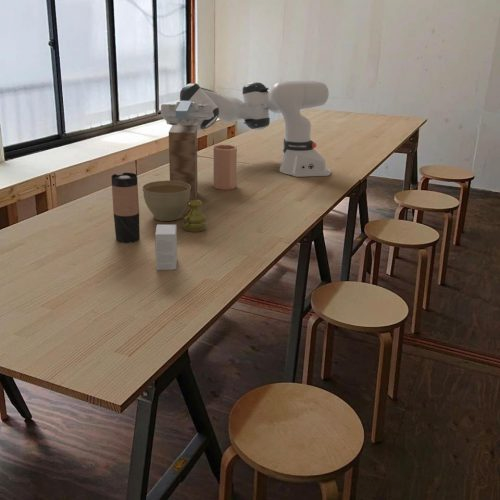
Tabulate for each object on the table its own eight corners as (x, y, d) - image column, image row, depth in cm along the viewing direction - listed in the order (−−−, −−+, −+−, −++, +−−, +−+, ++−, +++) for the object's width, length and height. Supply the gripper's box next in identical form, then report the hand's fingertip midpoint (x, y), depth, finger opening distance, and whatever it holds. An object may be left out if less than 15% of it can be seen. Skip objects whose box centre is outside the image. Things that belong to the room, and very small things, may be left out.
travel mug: (134, 244, 177) (131, 180, 170) (111, 242, 179) (106, 178, 171) (144, 235, 184) (141, 173, 177) (121, 233, 186) (117, 171, 178)
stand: (197, 192, 228) (196, 125, 219) (195, 203, 215) (194, 132, 206) (174, 192, 228) (172, 124, 218) (170, 203, 215) (168, 132, 205)
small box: (157, 258, 168) (156, 224, 164) (177, 258, 168) (176, 223, 164) (155, 270, 161) (154, 234, 157) (176, 270, 161) (175, 234, 157)
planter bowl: (198, 213, 206) (198, 183, 202) (178, 227, 192) (178, 195, 188) (157, 207, 211) (156, 177, 207) (134, 221, 197) (133, 189, 193)
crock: (236, 183, 241) (236, 145, 235) (236, 190, 233) (236, 150, 227) (214, 183, 241) (214, 144, 235) (213, 189, 233) (213, 149, 227)
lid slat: (181, 107, 225) (181, 100, 224) (191, 107, 226) (191, 100, 225) (175, 118, 203) (175, 110, 202) (187, 118, 203) (187, 111, 202)
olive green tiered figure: (197, 234, 187) (197, 204, 183) (178, 229, 190) (178, 199, 187) (210, 227, 193) (210, 198, 189) (192, 223, 196) (192, 194, 192)
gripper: (214, 125, 236) (213, 112, 222) (162, 124, 235) (158, 111, 221) (214, 109, 237) (213, 96, 223) (163, 108, 236) (159, 95, 222)
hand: (185, 103), depth 222 cm, fingers closed on lid slat, 4 cm apart
